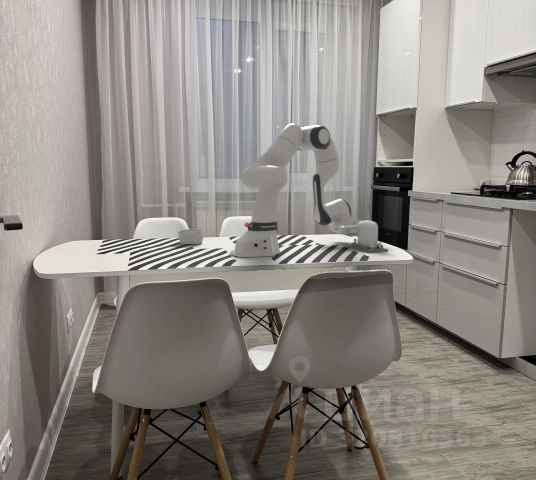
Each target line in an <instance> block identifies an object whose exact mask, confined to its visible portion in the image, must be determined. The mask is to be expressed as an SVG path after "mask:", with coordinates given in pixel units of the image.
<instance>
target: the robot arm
mask: <svg viewBox="0 0 536 480" xmlns="http://www.w3.org/2000/svg"><path fill="white" fill-rule="evenodd" d="M297 151H313V153H314V160H315V166H316V168H315V172H314V175H313V176H312V191H313V192H312V193H313V207H314V208H313V218H314V221H315V222H316V224H318V225H320V226H322V227H323V226H324V227H325V226H327V225H328V227H329V229H330V230H331V231H332V232H333V233H335V234H338V235H343V236H345V237H351V238H353V237H356V236H358V233H359V229H358V223H359V222H360V221H365V220H364V219H355V218H352V207H351V206H350V203H348V202H347V201H346V199H344V198H338V199H335V200H333V201H330V202H328V203H325V192H324V191H325V186H326V184H327V183H328V182H329V181H330V180H332V179H333V178H334V177H335V176H336V175H337V173H338V172H339V170H340V159H339V155H338V150H337V148H336V145H335V143H334V140H333V138H332V137H331V134H330V131H329V129H328V128H327V127H326V126H324V125H317V124H316V125H307V126H304V127H301V126H300V125H299V124H296V123H289V124H287V125H286V126H285V127H284V128H283V129H282V130H281V131H280V132H279V133H278V135H277V136H276V137H275V138H274V140H273V141H272V143H271V145H270V146H269V147H268V149H266V151H265V152H264V153H263V154H262V155H261V156H259V158H258V159H256V161H254V162H253V163H251V165H249V166H248V167H245V168H244V169H243V170H242V172H241V175H240V180H241V183H242V185H243V187H245V188H247V189H250V190H252V191H257V194H256V198H255V200H254V201H253V202H252V203H251V221H250V222H245V223H244V224H243V226H244V227H245V228H247V231H245V232H244V233H243V234H241V236H239V237H238V238H237V239H236V241H235V244H234V250H230V251H229V254H230V256H233V255H234V256H233V257H235V256H237V257H236V258H255V257H256V258H258V257H259V258H260V257H274V256H277V255H278V254H280V253H281V250H280V245H279V239H278V230H279V227H278V221H277V206H278V200H279V196H280V194H281V192H282V191H283V189H284V188H285V186H286V185H287V182H288V174H287V171H286V170H285V169H284V168H285V167H287V165H289V163H290V161H291V160H292V159H293V157H294V155H295V154H296V153H297Z"/></svg>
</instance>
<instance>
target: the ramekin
mask: <svg viewBox="0 0 536 480" xmlns="http://www.w3.org/2000/svg"><path fill="white" fill-rule="evenodd" d="M204 233H205V231H204V229H202V228H201V229H200V228H189V229H181V230H178V231H177V234H178V241H179V244H180V243H181V244H199V245H201V244H203V241H204ZM200 243H201V244H200ZM181 244H180V245H181Z"/></svg>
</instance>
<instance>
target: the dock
mask: <svg viewBox="0 0 536 480" xmlns="http://www.w3.org/2000/svg"><path fill="white" fill-rule="evenodd" d="M347 248H349V249H353V250H357V251H361V252H363V253H368V254H371V253H373V254H374V253H381V251H385V252H389V250H388V249H389V248H385V247H384V245H383V244H382V242H381V241H378V247H377V248H374V243H371V248H370V247H368V246H366V245H362V244H358V238H353V242H351V244H347Z"/></svg>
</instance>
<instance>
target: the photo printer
mask: <svg viewBox="0 0 536 480" xmlns="http://www.w3.org/2000/svg"><path fill="white" fill-rule="evenodd" d="M358 229H359V233H358V235H357V243H358V244H362V245H366V246H368V247H370V248H371V243H374V248H377V247H378V244H379V241H378V240H379V239H378V238H379V226H378V223H377V222H375V221H373V220H369V219H366V220H365V221H360V222H359V223H358Z"/></svg>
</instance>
